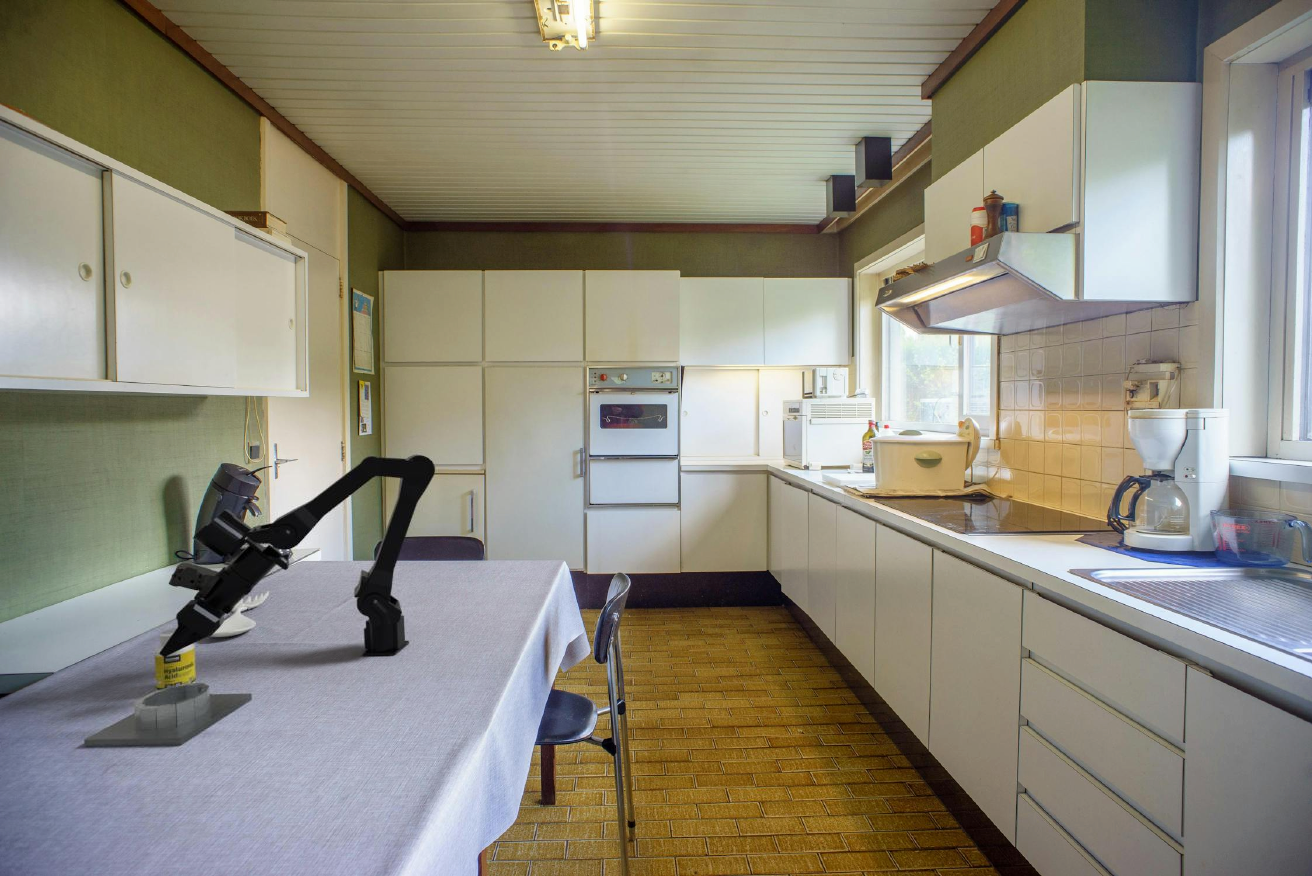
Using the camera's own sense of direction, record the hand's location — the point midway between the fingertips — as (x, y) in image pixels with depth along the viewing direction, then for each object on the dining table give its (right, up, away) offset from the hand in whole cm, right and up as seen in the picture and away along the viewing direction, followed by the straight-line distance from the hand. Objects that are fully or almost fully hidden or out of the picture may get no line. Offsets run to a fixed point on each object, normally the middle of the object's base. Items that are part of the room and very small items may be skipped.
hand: (169, 646), depth 103 cm
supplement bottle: (+1, -8, +1) cm, 8 cm away
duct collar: (+10, -7, -12) cm, 17 cm away
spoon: (-14, -8, +38) cm, 41 cm away
